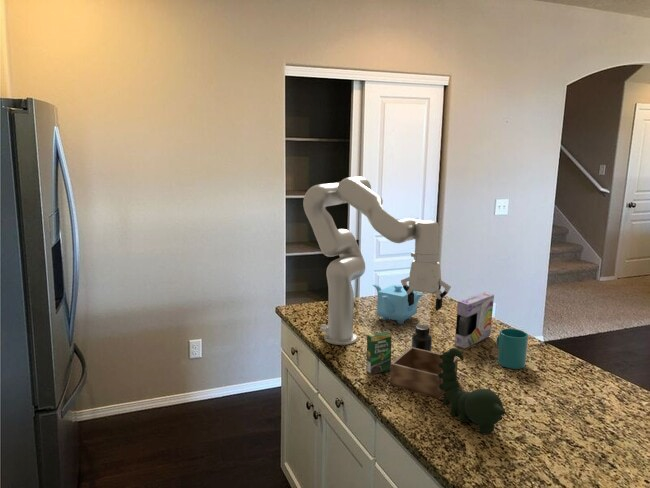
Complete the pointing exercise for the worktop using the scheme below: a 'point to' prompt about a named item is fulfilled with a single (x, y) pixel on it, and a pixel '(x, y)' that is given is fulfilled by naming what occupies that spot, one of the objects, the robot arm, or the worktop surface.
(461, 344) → the cake pan box
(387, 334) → the coffee box
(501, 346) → the cup
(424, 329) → the supplement bottle
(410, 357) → the walnut crate
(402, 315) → the teakettle
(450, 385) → the toy figurine
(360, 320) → the worktop surface
